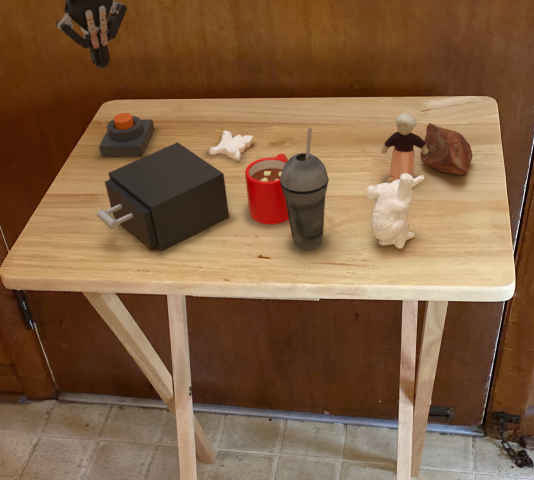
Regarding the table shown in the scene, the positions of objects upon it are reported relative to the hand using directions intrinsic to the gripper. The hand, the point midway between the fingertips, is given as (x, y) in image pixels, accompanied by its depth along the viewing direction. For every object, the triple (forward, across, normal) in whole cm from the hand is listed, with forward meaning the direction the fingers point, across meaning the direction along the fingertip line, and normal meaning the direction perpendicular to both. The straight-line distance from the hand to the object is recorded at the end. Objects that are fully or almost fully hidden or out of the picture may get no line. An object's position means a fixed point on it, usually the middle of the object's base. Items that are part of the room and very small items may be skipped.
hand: (102, 66), depth 142 cm
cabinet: (+18, +4, +25) cm, 30 cm away
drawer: (+17, +8, +25) cm, 31 cm away
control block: (+17, -3, -2) cm, 18 cm away
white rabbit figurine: (+18, -18, +55) cm, 60 cm away
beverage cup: (+18, -8, +46) cm, 50 cm away
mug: (+18, -11, +34) cm, 40 cm away
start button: (+14, -3, -2) cm, 14 cm away
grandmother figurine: (+17, -31, +44) cm, 56 cm away
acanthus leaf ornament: (+17, -16, +14) cm, 27 cm away
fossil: (+17, -39, +46) cm, 63 cm away
